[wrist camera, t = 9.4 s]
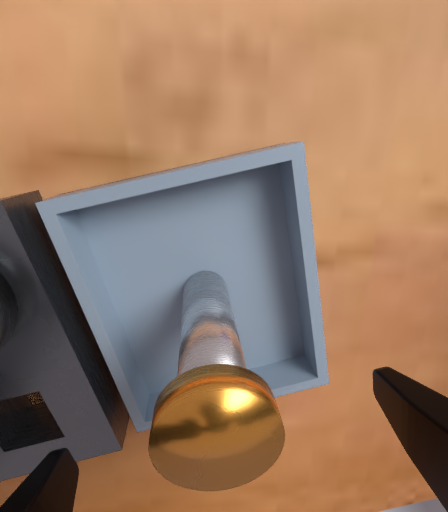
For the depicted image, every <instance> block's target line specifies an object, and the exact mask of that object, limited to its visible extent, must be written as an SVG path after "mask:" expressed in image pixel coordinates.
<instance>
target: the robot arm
mask: <svg viewBox="0 0 448 512" xmlns="http://www.w3.org/2000/svg"><path fill="white" fill-rule="evenodd" d="M373 391H374V395H375V398H376V400H377V401H378V403H379V405H380V407H381V408H382V410H383V412H384V414H385V416H386V417H387V419H388V421H389V423H390V424H391V426H392V428H393V430H394V431H395V433H396V435H397V437H398V439H399V440H400V442H401V444H402V446H403V447H404V449H405V451H406V452H407V454H408V455H409V457H410V458H411V460H412V461H413V463H414V464H415V466H416V467H417V469H418V470H419V472H420V473H421V475H422V476H423V477H424V479H425V480H426V482H427V483H428V485H429V486H430V488H431V489H432V490H433V492H434V493H435V495H436V496H437V498H438V499H439V501H440V502H441V503H442V505H443V506H444V508H445V509H446V511H447V512H448V398H447V397H446V396H444V395H442V394H440V393H438V392H436V391H434V390H432V389H430V388H428V387H426V386H424V385H423V384H421V383H419V382H417V381H415V380H413V379H411V378H409V377H407V376H405V375H403V374H401V373H400V372H398V371H396V370H394V369H392V368H390V367H382V368H378V369H375V370H374V371H373ZM78 476H79V468H78V465H77V463H76V461H75V460H74V458H73V456H72V455H71V453H70V451H69V450H68V449H67V448H60V449H56V450H53V451H51V452H50V453H48V454H47V456H46V457H45V458H44V459H43V460H42V461H41V462H40V463H39V464H38V466H37V467H36V468H35V469H34V470H33V471H32V472H31V473H30V475H29V476H28V477H27V478H26V479H25V480H24V481H23V482H22V483H21V485H20V486H19V487H18V488H17V489H16V490H15V491H14V492H13V494H12V495H11V496H10V497H9V498H8V499H7V500H6V501H5V502H4V504H3V505H2V506H1V507H0V512H73V506H74V500H75V494H76V488H77V482H78Z"/></svg>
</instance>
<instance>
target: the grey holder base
mask: <svg viewBox="0 0 448 512" xmlns="http://www.w3.org/2000/svg"><path fill="white" fill-rule="evenodd" d="M40 201H43V200H42V197H41V195H40V193H39V191H38V190H37V191H33V192H28V193H24V194H19V195H15V196H11V197H6V198H2V199H0V481H3V480H7V479H11V478H15V477H19V476H23V475H26V474H30V473H31V472H32V471H33V470H34V469H35V468H36V467H37V466H38V464H39V463H40V462H41V461H42V460H43V459H44V458H45V457H46V456H47V454H48V453H50V452H51V451H53V450H56V449H60V448H67V449H68V450H69V451H70V453H71V455H72V456H73V458H74V460H75V461H76V462H77V461H81V460H85V459H89V458H93V457H97V456H100V455H104V454H108V453H112V452H116V451H120V450H122V448H123V443H124V439H125V434H126V430H127V425H128V421H129V417H130V415H129V413H128V410H127V408H126V406H125V404H124V402H123V399H122V397H121V395H120V393H119V390H118V388H117V386H116V384H115V381H114V379H113V377H112V375H111V372H110V370H109V368H108V366H107V363H106V361H105V359H104V357H103V354H102V352H101V350H100V348H99V345H98V343H97V341H96V339H95V337H94V334H93V332H92V330H91V328H90V325H89V323H88V321H87V319H86V316H85V314H84V312H83V310H82V307H81V305H80V303H79V301H78V298H77V296H76V294H75V292H74V289H73V287H72V285H71V283H70V280H69V278H68V276H67V274H66V271H65V269H64V267H63V265H62V263H61V260H60V258H59V256H58V254H57V251H56V249H55V247H54V245H53V242H52V240H51V238H50V236H49V233H48V231H47V229H46V227H45V224H44V222H43V220H42V218H41V215H40V213H39V211H38V209H37V206H36V204H35V203H37V202H40ZM38 391H39V393H40V394H41V396H42V398H43V400H44V401H45V403H41V404H37V405H32V403H31V401H30V400H29V398H28V396H27V395H26V394H30V393H34V392H38Z"/></svg>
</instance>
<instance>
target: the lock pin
mask: <svg viewBox="0 0 448 512" xmlns="http://www.w3.org/2000/svg"><path fill="white" fill-rule="evenodd" d="M284 441H285V431H284V426H283V423H282V420H281V417H280V413H279V410H278V407H277V404H276V401H275V398H274V395H273V392H272V390H271V388H270V387H269V385H268V384H267V383H266V382H265V380H264V379H263V378H261V377H260V376H259V375H257V374H256V373H254V372H252V371H251V370H248V369H247V368H246V364H245V360H244V356H243V352H242V347H241V343H240V339H239V335H238V331H237V327H236V322H235V318H234V314H233V310H232V306H231V302H230V297H229V293H228V289H227V285H226V282H225V280H224V279H223V278H222V277H221V276H220V275H219V274H217V273H215V272H212V271H200V272H197V273H195V274H193V275H192V276H190V277H189V278H188V279H187V281H186V283H185V285H184V290H183V304H182V318H181V332H180V346H179V360H178V374H177V377H176V378H174V379H173V380H172V381H171V382H169V383H168V384H167V385H166V386H165V388H164V389H163V390H162V391H161V393H160V394H159V396H158V398H157V400H156V403H155V407H154V412H153V418H152V425H151V431H150V438H149V456H150V459H151V462H152V463H153V465H154V467H155V468H156V470H157V471H158V472H159V473H160V474H161V475H162V476H163V477H164V478H166V479H167V480H169V481H170V482H172V483H174V484H176V485H178V486H181V487H184V488H187V489H192V490H198V491H219V490H226V489H231V488H235V487H238V486H241V485H244V484H246V483H248V482H250V481H252V480H254V479H256V478H258V477H259V476H261V475H262V474H263V473H265V472H266V471H267V470H268V469H269V468H270V467H271V466H272V465H273V464H274V463H275V461H276V460H277V459H278V457H279V455H280V454H281V451H282V449H283V446H284Z"/></svg>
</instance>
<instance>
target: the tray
mask: <svg viewBox="0 0 448 512" xmlns="http://www.w3.org/2000/svg"><path fill="white" fill-rule="evenodd" d="M35 204H36V206H37V209H38V211H39V213H40V215H41V218H42V220H43V222H44V224H45V227H46V229H47V231H48V233H49V236H50V238H51V240H52V242H53V245H54V247H55V249H56V251H57V254H58V256H59V258H60V260H61V263H62V265H63V267H64V269H65V271H66V274H67V276H68V278H69V280H70V283H71V285H72V287H73V289H74V292H75V294H76V296H77V298H78V301H79V303H80V305H81V307H82V310H83V312H84V314H85V316H86V319H87V321H88V323H89V325H90V328H91V330H92V332H93V334H94V337H95V339H96V341H97V343H98V345H99V348H100V350H101V352H102V354H103V357H104V359H105V361H106V363H107V366H108V368H109V370H110V372H111V375H112V377H113V379H114V381H115V384H116V386H117V388H118V390H119V393H120V395H121V397H122V399H123V402H124V404H125V406H126V408H127V410H128V413H129V415H130V417H131V419H132V422H133V424H134V426H135V428H136V431H137V433H138V432H142V431H145V430H149V429H151V425H152V418H153V412H154V407H155V403H156V400H157V398H158V396H159V394H160V393H161V391H162V390H163V389H164V388H165V386H166V385H167V384H168V383H169V382H171V381H172V380H173V379H174V378H176V377H177V374H178V360H179V346H180V332H181V318H182V304H183V290H184V285H185V283H186V281H187V279H188V278H189V277H190V276H192V275H193V274H195V273H197V272H200V271H212V272H215V273H217V274H219V275H220V276H221V277H222V278H223V279H224V280H225V282H226V285H227V289H228V293H229V297H230V302H231V306H232V310H233V314H234V318H235V322H236V327H237V331H238V335H239V339H240V343H241V347H242V352H243V356H244V360H245V364H246V368H247V369H248V370H251V371H252V372H254V373H256V374H257V375H259V376H260V377H261V378H263V379H264V380H265V382H266V383H267V384H268V385H269V387H270V388H271V390H272V392H273V395H274V398H275V397H279V396H283V395H286V394H290V393H294V392H298V391H302V390H306V389H310V388H314V387H318V386H322V385H326V384H329V377H328V368H327V358H326V349H325V339H324V329H323V320H322V310H321V301H320V291H319V282H318V272H317V263H316V253H315V243H314V234H313V224H312V215H311V205H310V196H309V186H308V177H307V167H306V158H305V148H304V142H292V143H283V144H278V145H274V146H270V147H265V148H261V149H257V150H252V151H248V152H243V153H239V154H235V155H230V156H226V157H221V158H217V159H213V160H208V161H204V162H200V163H195V164H191V165H186V166H182V167H178V168H173V169H169V170H165V171H160V172H156V173H151V174H147V175H143V176H138V177H134V178H129V179H125V180H121V181H116V182H112V183H108V184H103V185H99V186H94V187H90V188H86V189H81V190H77V191H72V192H68V193H64V194H60V195H57V196H54V197H51V198H48V199H45V200H43V201H40V202H37V203H35Z"/></svg>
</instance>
